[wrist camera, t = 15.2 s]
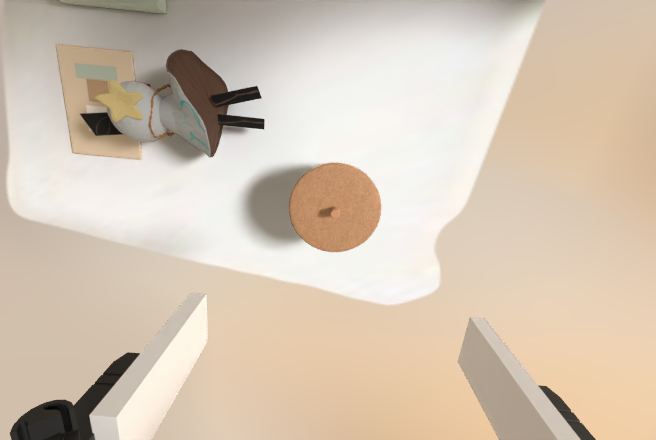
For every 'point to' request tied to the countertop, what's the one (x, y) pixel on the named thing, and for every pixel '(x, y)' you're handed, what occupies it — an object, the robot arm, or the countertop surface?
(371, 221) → the lidded jar
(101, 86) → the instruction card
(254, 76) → the countertop surface
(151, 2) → the base plate
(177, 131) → the decorative toy
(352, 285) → the countertop surface
